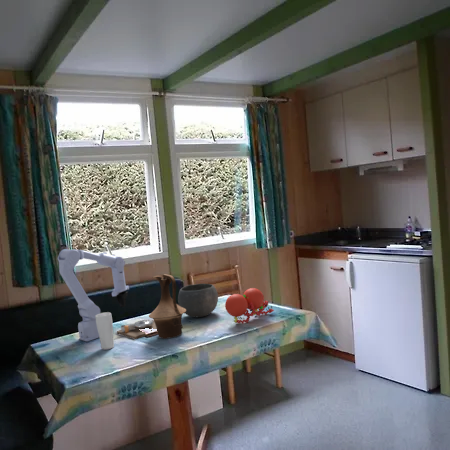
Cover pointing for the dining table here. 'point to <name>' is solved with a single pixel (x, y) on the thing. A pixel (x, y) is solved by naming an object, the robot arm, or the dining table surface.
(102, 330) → the drinking glass
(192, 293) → the bowl
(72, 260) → the robot arm
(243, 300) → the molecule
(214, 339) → the dining table surface
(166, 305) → the pitcher
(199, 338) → the dining table surface
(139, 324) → the flange
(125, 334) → the board
